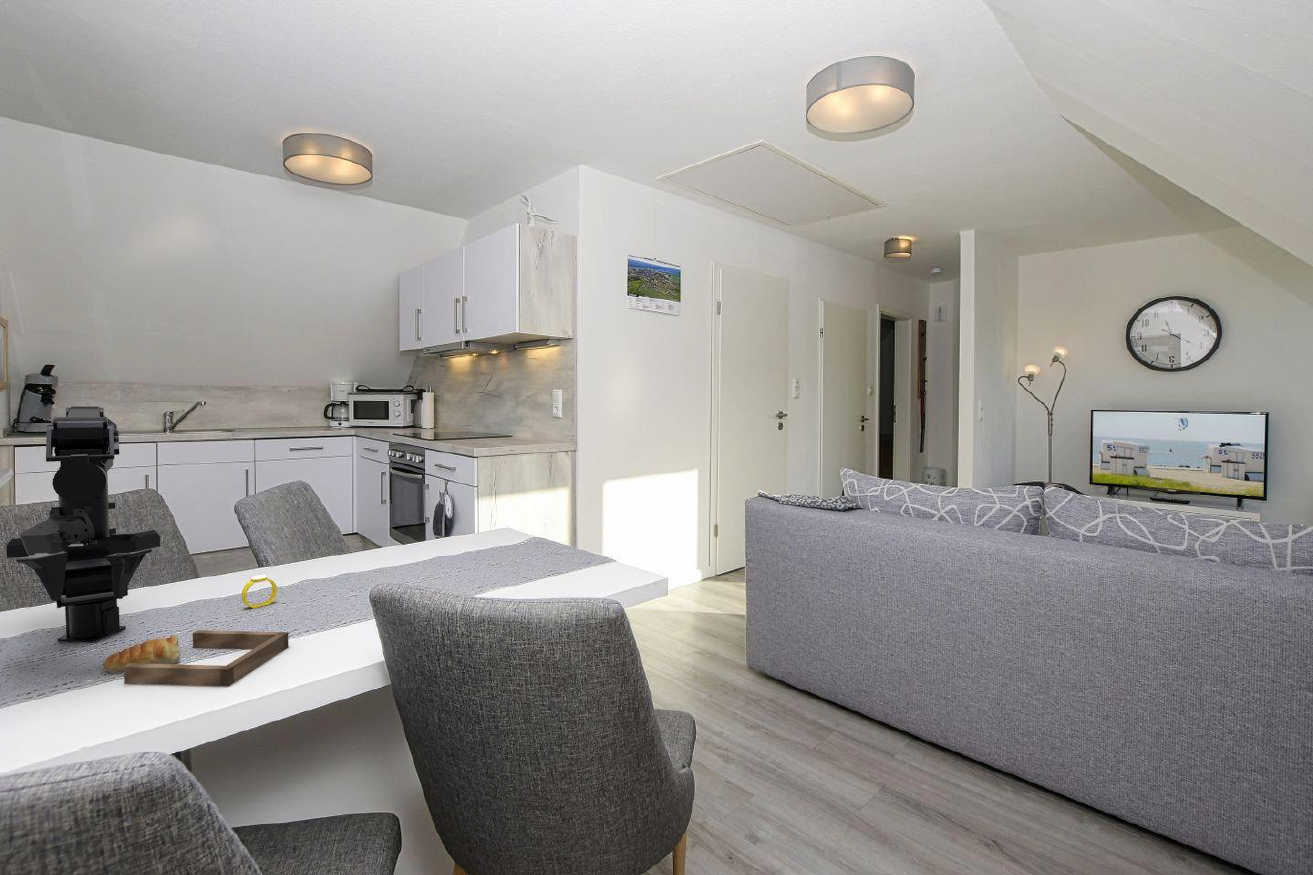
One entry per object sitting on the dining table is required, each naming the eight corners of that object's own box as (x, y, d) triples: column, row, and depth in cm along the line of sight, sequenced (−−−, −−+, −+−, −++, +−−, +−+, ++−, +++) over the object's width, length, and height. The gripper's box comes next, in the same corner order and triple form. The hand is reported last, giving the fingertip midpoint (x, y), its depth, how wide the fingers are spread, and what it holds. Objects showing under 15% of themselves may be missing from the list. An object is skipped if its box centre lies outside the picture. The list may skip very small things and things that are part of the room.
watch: (247, 612, 122) (244, 583, 122) (241, 609, 124) (237, 580, 123) (280, 602, 127) (277, 573, 126) (273, 599, 129) (270, 571, 128)
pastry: (102, 681, 92) (101, 655, 92) (103, 666, 98) (102, 642, 97) (182, 665, 98) (182, 640, 98) (180, 651, 104) (179, 628, 103)
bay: (124, 683, 91) (123, 666, 91) (198, 644, 106) (197, 630, 105) (228, 686, 91) (228, 669, 91) (288, 646, 105) (288, 632, 105)
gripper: (-35, 506, 89) (-30, 616, 89) (104, 501, 90) (108, 610, 90) (38, 498, 100) (42, 596, 100) (161, 494, 101) (164, 591, 101)
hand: (87, 599), depth 98 cm, fingers open, 9 cm apart
